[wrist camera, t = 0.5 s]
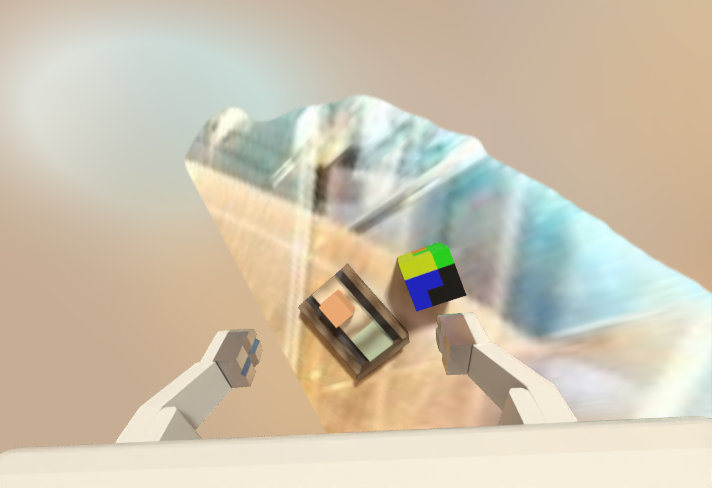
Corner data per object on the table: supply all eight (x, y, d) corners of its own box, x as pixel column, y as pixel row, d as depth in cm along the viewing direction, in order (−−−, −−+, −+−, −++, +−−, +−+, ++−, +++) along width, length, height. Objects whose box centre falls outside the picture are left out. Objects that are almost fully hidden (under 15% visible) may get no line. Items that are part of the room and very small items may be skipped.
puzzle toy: (412, 296, 62) (416, 311, 52) (397, 257, 62) (398, 264, 52) (454, 282, 60) (466, 295, 51) (439, 242, 60) (448, 247, 50)
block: (355, 308, 62) (352, 314, 58) (339, 320, 62) (336, 327, 58) (338, 288, 62) (334, 293, 58) (323, 301, 62) (318, 307, 58)
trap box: (408, 332, 63) (409, 342, 58) (361, 368, 66) (359, 380, 61) (347, 263, 63) (343, 267, 58) (303, 301, 66) (296, 308, 61)
